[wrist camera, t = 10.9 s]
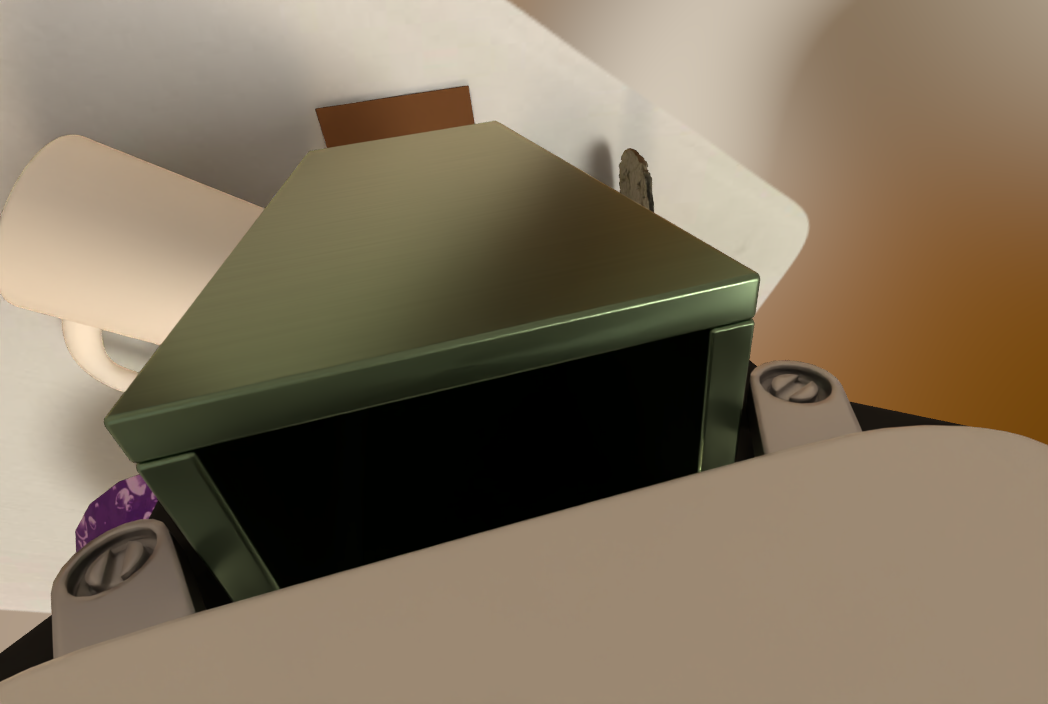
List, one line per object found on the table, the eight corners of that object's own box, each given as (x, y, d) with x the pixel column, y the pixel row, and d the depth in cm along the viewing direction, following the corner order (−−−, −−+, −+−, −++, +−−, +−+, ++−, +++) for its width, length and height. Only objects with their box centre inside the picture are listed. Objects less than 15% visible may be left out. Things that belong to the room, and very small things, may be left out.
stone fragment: (612, 143, 30) (647, 162, 26) (623, 141, 30) (659, 160, 26) (614, 287, 36) (642, 322, 32) (623, 285, 36) (652, 320, 32)
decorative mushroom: (168, 341, 30) (15, 547, 18) (373, 398, 35) (368, 588, 23) (126, 490, 34) (-21, 742, 22) (315, 522, 40) (284, 738, 27)
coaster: (315, 108, 26) (314, 108, 26) (467, 85, 27) (468, 85, 27) (360, 255, 30) (360, 256, 30) (490, 229, 31) (490, 230, 31)
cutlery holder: (307, 150, 18) (96, 420, 5) (497, 120, 19) (764, 273, 6) (363, 320, 22) (331, 742, 8) (519, 288, 23) (714, 619, 9)
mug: (105, 121, 24) (0, 148, 18) (318, 210, 28) (299, 258, 22) (68, 329, 28) (-28, 413, 22) (258, 379, 33) (227, 463, 26)
